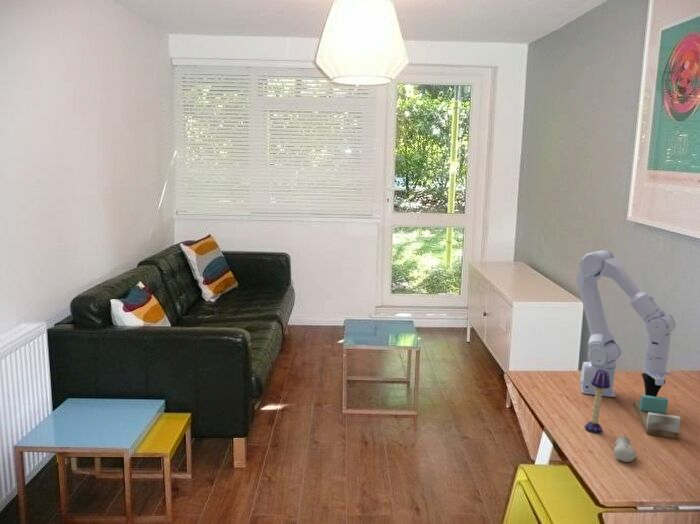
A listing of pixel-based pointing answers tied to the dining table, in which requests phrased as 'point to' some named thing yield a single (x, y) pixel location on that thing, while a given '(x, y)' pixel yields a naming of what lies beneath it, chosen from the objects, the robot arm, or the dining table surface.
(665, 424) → the clamp board
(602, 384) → the toy lamp
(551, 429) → the dining table surface
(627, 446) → the pale two-lobed sculpture
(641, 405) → the sliding jaw
